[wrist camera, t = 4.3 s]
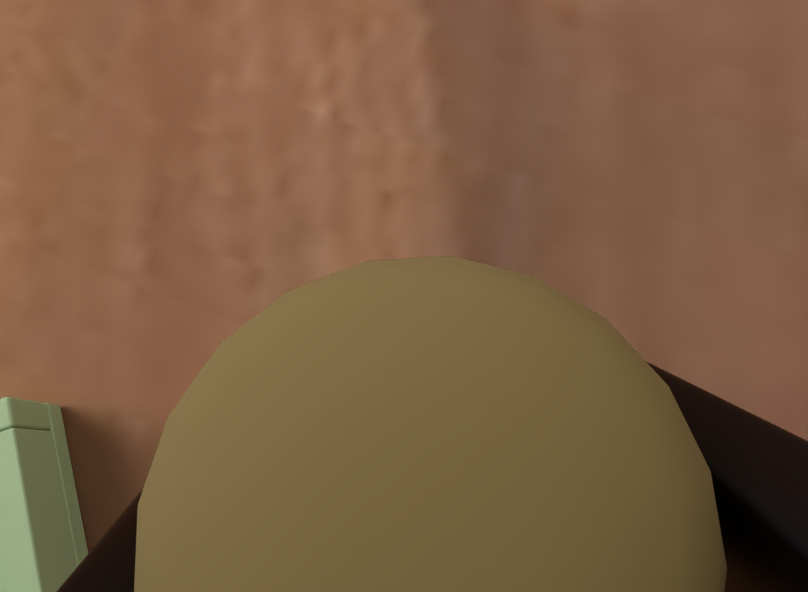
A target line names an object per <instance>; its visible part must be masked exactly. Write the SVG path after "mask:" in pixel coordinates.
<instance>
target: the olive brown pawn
mask: <svg viewBox="0 0 808 592" xmlns="http://www.w3.org/2000/svg"><path fill="white" fill-rule="evenodd" d="M726 575H727V565H726V559H725V553H724V547H723V541H722V535H721V529H720V524H719V518H718V512H717V506H716V500H715V494H714V488H713V482H712V476H711V471H710V469H709V467H708V465H707V463H706V461H705V459H704V457H703V455H702V453H701V451H700V449H699V447H698V445H697V443H696V441H695V439H694V437H693V435H692V433H691V430H690V428H689V426H688V424H687V422H686V420H685V418H684V416H683V414H682V412H681V410H680V408H679V406H678V404H677V402H676V400H675V398H674V396H673V394H672V392H671V390H670V388H669V386H668V385H667V384H666V383H665V382H664V381H663V379H662V378H661V377H660V376H659V375H658V374H657V373H656V372H655V371H654V370H653V369H652V368H651V367H650V365H649V364H648V363H647V362H646V361H645V360H644V359H643V358H642V357H641V356H640V355H639V354H638V353H637V351H636V350H635V349H634V348H633V347H632V346H631V345H630V344H629V343H628V342H627V341H626V340H625V339H624V337H623V336H622V335H621V334H620V333H619V332H618V331H617V330H616V329H615V328H614V327H613V326H612V325H611V323H610V322H609V321H608V320H607V319H605V318H604V317H602V316H600V315H598V314H597V313H595V312H593V311H592V310H590V309H588V308H587V307H585V306H583V305H581V304H580V303H578V302H576V301H575V300H573V299H571V298H569V297H568V296H566V295H564V294H563V293H561V292H559V291H558V290H556V289H554V288H552V287H551V286H549V285H547V284H546V283H544V282H542V281H540V280H539V279H537V278H535V277H534V276H532V275H528V274H524V273H520V272H516V271H512V270H507V269H503V268H499V267H495V266H491V265H487V264H482V263H478V262H474V261H470V260H466V259H461V258H457V257H453V256H436V257H421V258H405V259H390V260H374V261H365V262H363V263H360V264H357V265H355V266H352V267H349V268H347V269H344V270H342V271H339V272H336V273H334V274H331V275H328V276H326V277H323V278H320V279H318V280H315V281H313V282H310V283H307V284H305V285H302V286H299V287H297V288H294V289H292V290H289V291H287V292H286V293H285V294H283V295H282V296H281V297H279V298H278V299H277V300H276V301H274V302H273V303H272V304H270V305H269V306H268V307H267V308H265V309H264V310H263V311H261V312H260V313H259V314H258V315H256V316H255V317H254V318H252V319H251V320H250V321H249V322H247V323H246V324H245V325H243V326H242V327H241V328H240V329H238V330H237V331H236V332H234V333H233V334H232V335H231V336H229V337H228V338H227V339H225V340H224V341H223V342H222V343H220V344H219V346H218V347H217V349H216V350H215V351H214V353H213V354H212V356H211V357H210V358H209V360H208V361H207V363H206V364H205V365H204V367H203V368H202V370H201V371H200V372H199V374H198V375H197V377H196V378H195V380H194V381H193V382H192V384H191V385H190V387H189V388H188V389H187V391H186V392H185V394H184V395H183V396H182V398H181V399H180V401H179V402H178V403H177V405H176V406H175V408H174V409H173V410H172V412H171V413H170V415H169V416H168V418H167V421H166V424H165V427H164V430H163V433H162V436H161V439H160V442H159V445H158V447H157V450H156V453H155V456H154V459H153V462H152V465H151V468H150V471H149V474H148V477H147V479H146V482H145V485H144V488H143V491H142V494H141V497H140V500H139V503H138V510H137V534H136V557H135V581H134V592H724V590H725V582H726Z"/></svg>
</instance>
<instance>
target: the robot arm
mask: <svg viewBox="0 0 808 592" xmlns="http://www.w3.org/2000/svg"><path fill="white" fill-rule="evenodd" d="M647 363H648V362H647ZM648 364H649V365H650V367H651V368H652V369H653V370H654V371H655V372H656V373H657V374H658V375H659V376H660V377H661V378H662V379H663V381H664V382H665V383H666V384H667V385H668V386H669V388H670V390H671V392H672V394H673V396H674V398H675V400H676V402H677V404H678V406H679V408H680V410H681V412H682V414H683V416H684V418H685V420H686V422H687V424H688V426H689V428H690V430H691V433H692V435H693V437H694V439H695V441H696V443H697V445H698V447H699V449H700V451H701V453H702V455H703V457H704V459H705V461H706V463H707V465H708V467H709V469H710V471H711V476H712V482H713V488H714V494H715V500H716V506H717V512H718V518H719V524H720V529H721V535H722V541H723V547H724V553H725V559H726V565H727V575H726V582H725V590H724V592H808V441H806V440H804V439H802V438H800V437H798V436H796V435H794V434H792V433H790V432H788V431H786V430H784V429H782V428H780V427H778V426H776V425H774V424H772V423H770V422H768V421H766V420H764V419H762V418H760V417H758V416H756V415H754V414H752V413H750V412H747V411H745V410H743V409H741V408H739V407H737V406H735V405H733V404H731V403H729V402H727V401H725V400H723V399H721V398H719V397H717V396H715V395H713V394H711V393H709V392H707V391H705V390H703V389H701V388H699V387H697V386H695V385H693V384H691V383H689V382H687V381H685V380H683V379H681V378H679V377H677V376H675V375H673V374H671V373H669V372H666V371H664V370H662V369H660V368H658V367H656V366H654V365H652V364H650V363H648ZM142 491H143V489H142ZM142 491H141V492H140V493H139V494H138V495H137V496H136V498H135V499H134V500H133V501H132V502H131V504H130V505H129V506H128V507H127V508H126V510H125V511H124V512H123V513H122V514H121V515H120V517H119V518H118V519H117V520H116V521H115V523H114V524H113V525H112V526H111V527H110V529H109V530H108V531H107V532H106V533H105V534H104V536H103V537H102V538H101V539H100V540H99V542H98V543H97V544H96V545H95V546H94V547H93V549H92V550H91V551H90V552H89V553H88V555H87V556H86V557H85V558H84V559H83V561H82V562H81V563H80V564H79V565H78V566H77V568H76V569H75V570H74V571H73V572H72V574H71V575H70V576H69V577H68V578H67V579H66V581H65V582H64V583H63V584H62V585H61V587H60V588H59V589H58V590H57V591H56V592H134V581H135V557H136V534H137V510H138V503H139V500H140V497H141V494H142Z"/></svg>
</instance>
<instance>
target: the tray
mask: <svg viewBox="0 0 808 592" xmlns="http://www.w3.org/2000/svg"><path fill="white" fill-rule="evenodd" d="M87 555H88V549H87V544H86V539H85V533H84V528H83V523H82V518H81V512H80V507H79V502H78V497H77V492H76V486H75V481H74V476H73V471H72V465H71V460H70V455H69V450H68V445H67V439H66V434H65V429H64V424H63V418H62V413H61V408H60V406H59V405H57V404H51V403H43V402H37V401H31V400H25V399H19V398H13V397H4V398H1V399H0V592H56V591H57V590H58V589H59V588H60V587H61V585H62V584H63V583H64V582H65V581H66V579H67V578H68V577H69V576H70V575H71V574H72V572H73V571H74V570H75V569H76V568H77V566H78V565H79V564H80V563H81V562H82V561H83V559H84V558H85V557H86V556H87Z"/></svg>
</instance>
